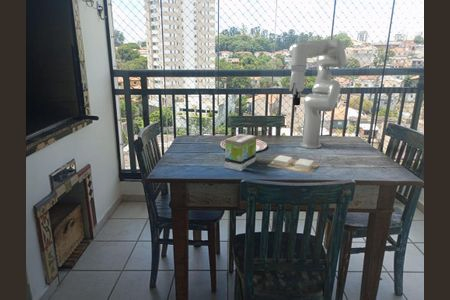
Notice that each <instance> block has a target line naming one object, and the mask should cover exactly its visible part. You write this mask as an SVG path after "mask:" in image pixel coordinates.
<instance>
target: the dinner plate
mask: <svg viewBox="0 0 450 300" xmlns="http://www.w3.org/2000/svg"><path fill="white" fill-rule="evenodd" d="M220 146H221V148H222V149H224V150H225V140H223V141H221V142H220ZM267 147H268V145H267V143H266V142H265V141H262V140H260V139H257V138H256V153H257V152H260V151H263V150H265V149H266V148H267Z"/></svg>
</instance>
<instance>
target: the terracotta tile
mask: <svg viewBox="0 0 450 300" xmlns="http://www.w3.org/2000/svg"><path fill="white" fill-rule="evenodd" d="M292 159H293V157H292V156H287V155H278V156H276V157H274V158H273V160H272V161H273V164H274V165H280V166H285V167H287V166H288V165H289V164H290V163H291V162H292Z"/></svg>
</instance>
